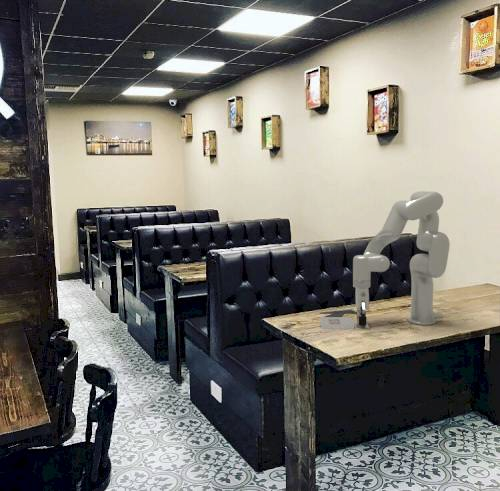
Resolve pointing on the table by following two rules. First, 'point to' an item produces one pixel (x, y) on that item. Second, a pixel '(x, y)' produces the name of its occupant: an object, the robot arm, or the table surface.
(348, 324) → the block
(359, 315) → the peg
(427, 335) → the table surface
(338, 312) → the picture frame
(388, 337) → the table surface
